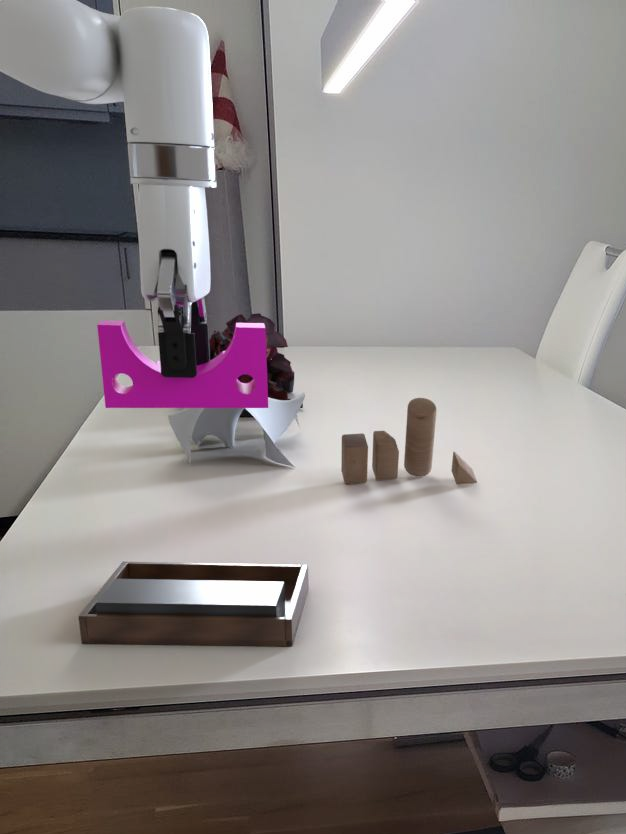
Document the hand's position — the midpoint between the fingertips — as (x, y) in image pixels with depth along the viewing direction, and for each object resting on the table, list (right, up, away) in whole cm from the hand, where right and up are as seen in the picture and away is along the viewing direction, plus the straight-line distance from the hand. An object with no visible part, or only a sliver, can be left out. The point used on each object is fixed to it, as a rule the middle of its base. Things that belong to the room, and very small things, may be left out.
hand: (186, 369), depth 100 cm
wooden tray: (+3, -24, -6) cm, 25 cm away
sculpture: (-8, +3, +56) cm, 57 cm away
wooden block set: (+18, -4, +43) cm, 46 cm away
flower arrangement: (-15, +17, +90) cm, 93 cm away
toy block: (0, -3, +1) cm, 3 cm away
